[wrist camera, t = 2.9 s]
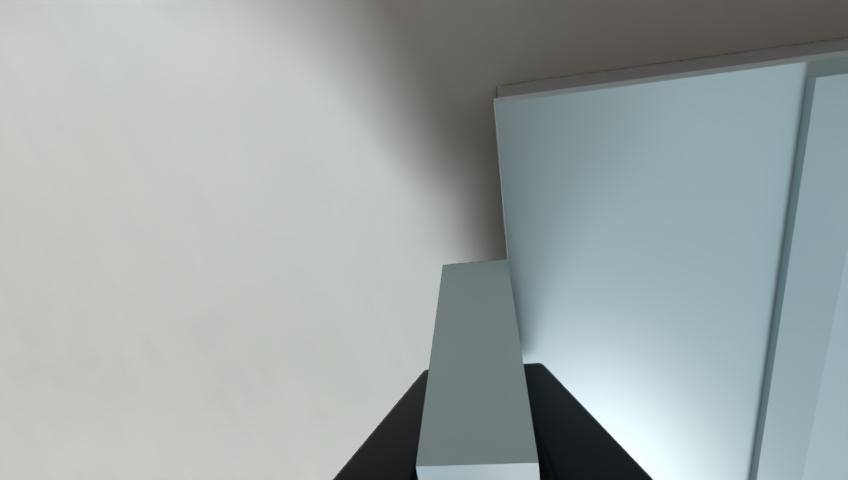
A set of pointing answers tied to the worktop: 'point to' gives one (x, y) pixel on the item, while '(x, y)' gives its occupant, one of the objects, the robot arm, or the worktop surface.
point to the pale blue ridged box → (660, 278)
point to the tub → (675, 67)
